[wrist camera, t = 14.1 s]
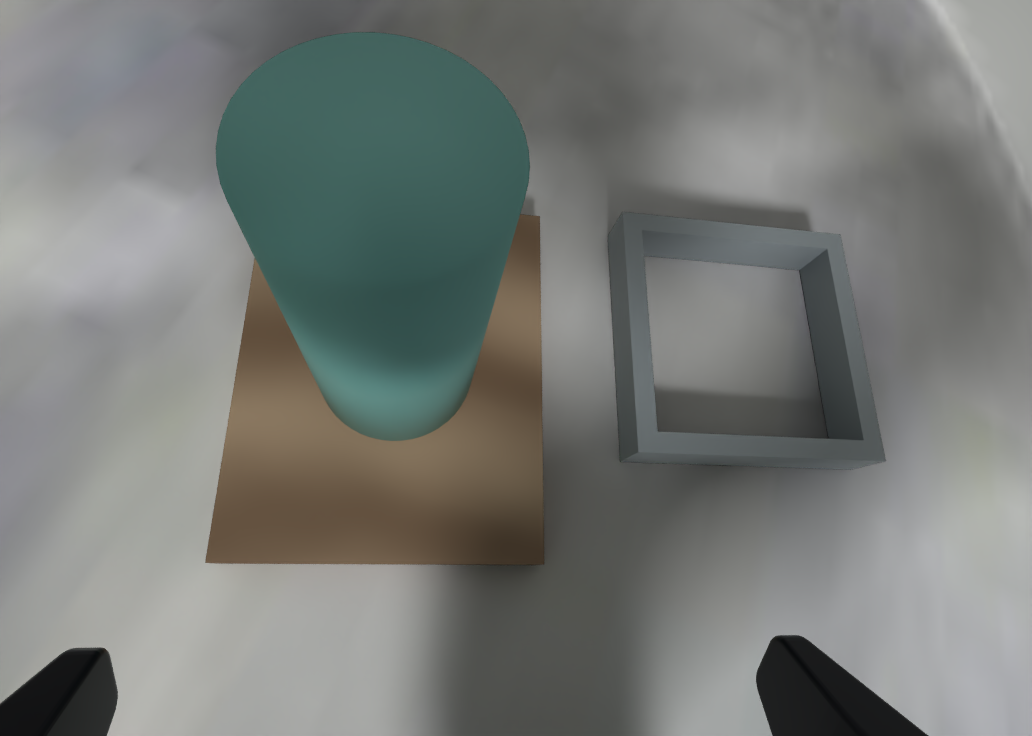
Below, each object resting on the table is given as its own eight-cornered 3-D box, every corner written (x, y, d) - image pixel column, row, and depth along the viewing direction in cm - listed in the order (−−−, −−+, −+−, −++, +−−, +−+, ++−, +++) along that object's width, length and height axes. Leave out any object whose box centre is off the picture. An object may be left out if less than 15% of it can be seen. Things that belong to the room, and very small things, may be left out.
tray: (850, 469, 25) (886, 461, 24) (620, 461, 24) (638, 451, 22) (812, 256, 29) (840, 234, 27) (607, 236, 27) (622, 211, 25)
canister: (469, 444, 22) (529, 299, 11) (308, 437, 21) (187, 271, 10) (475, 303, 24) (530, 53, 12) (327, 291, 23) (243, 13, 12)
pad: (537, 564, 22) (544, 564, 21) (216, 563, 20) (205, 562, 19) (533, 231, 27) (539, 216, 25) (272, 206, 25) (266, 188, 24)
